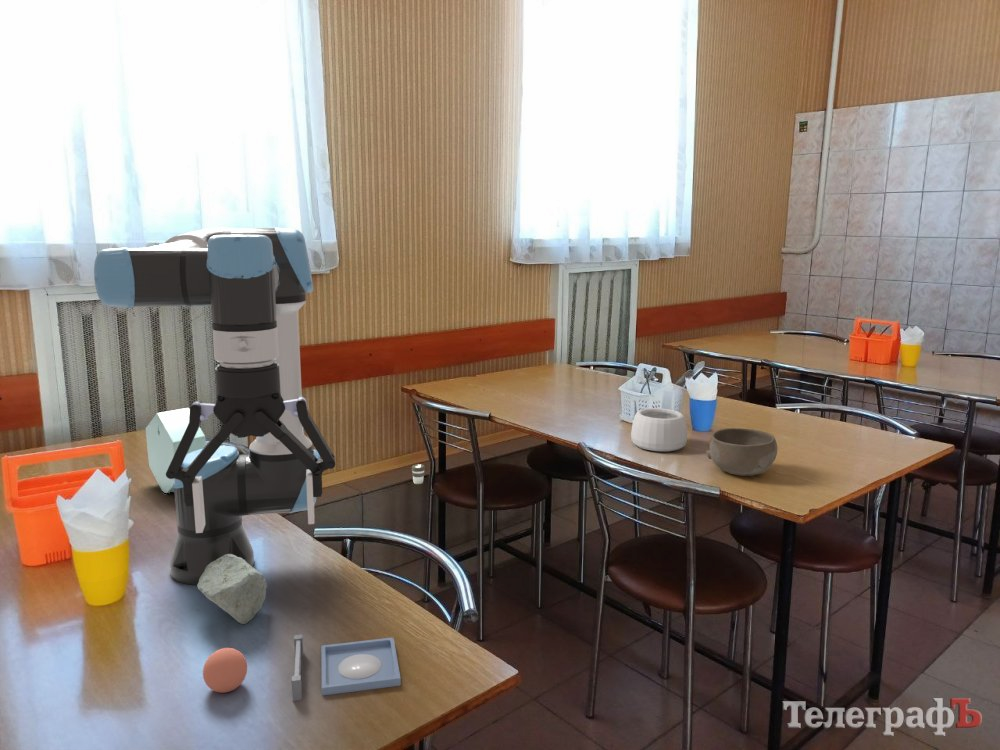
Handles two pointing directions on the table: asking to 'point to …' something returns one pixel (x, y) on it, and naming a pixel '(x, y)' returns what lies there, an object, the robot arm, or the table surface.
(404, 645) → the table surface
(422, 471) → the coffee cup
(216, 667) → the ball
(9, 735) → the table surface
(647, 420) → the white faceted pot
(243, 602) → the decorative stone
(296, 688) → the fence
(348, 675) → the dish
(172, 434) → the pale green faceted block
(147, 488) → the table surface
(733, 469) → the bowl
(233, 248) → the robot arm
